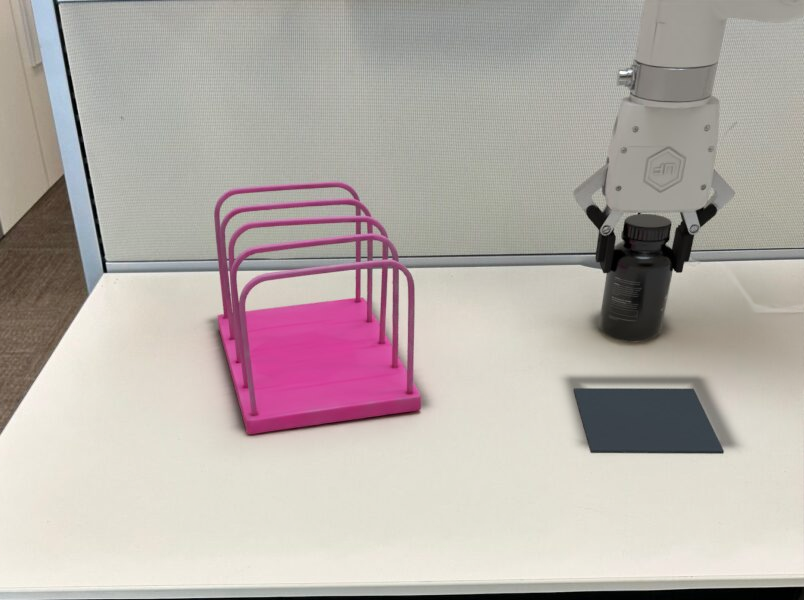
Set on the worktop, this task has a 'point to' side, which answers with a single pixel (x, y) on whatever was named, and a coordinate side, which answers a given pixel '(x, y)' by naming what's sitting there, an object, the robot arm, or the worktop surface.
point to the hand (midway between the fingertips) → (640, 267)
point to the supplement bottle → (638, 280)
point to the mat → (645, 420)
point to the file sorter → (314, 330)
